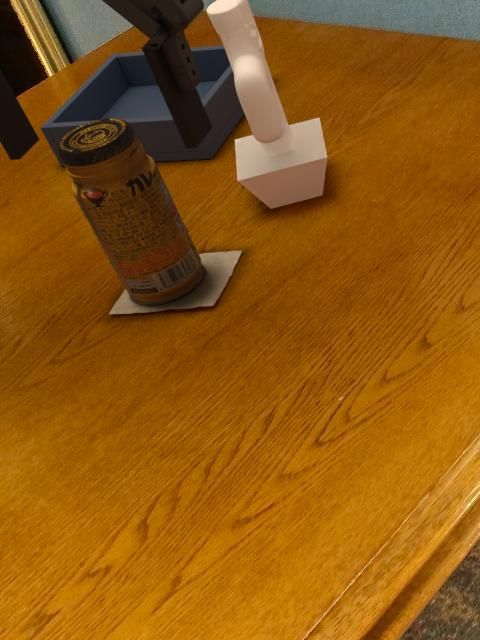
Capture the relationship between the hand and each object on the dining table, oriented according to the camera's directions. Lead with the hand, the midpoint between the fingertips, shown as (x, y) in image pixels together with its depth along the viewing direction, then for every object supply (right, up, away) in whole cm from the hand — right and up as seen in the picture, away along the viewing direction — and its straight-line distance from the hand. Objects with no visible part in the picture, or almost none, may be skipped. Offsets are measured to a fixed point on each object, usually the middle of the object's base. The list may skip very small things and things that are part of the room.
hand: (110, 144), depth 68 cm
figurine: (+9, +2, +16) cm, 18 cm away
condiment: (+1, -7, +9) cm, 12 cm away
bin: (-6, +13, +28) cm, 31 cm away
